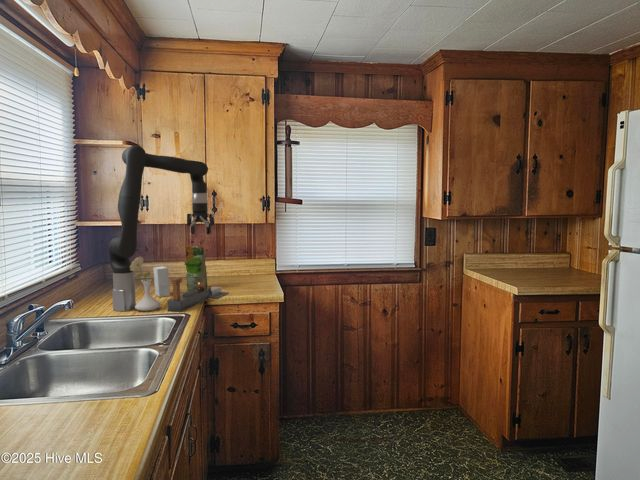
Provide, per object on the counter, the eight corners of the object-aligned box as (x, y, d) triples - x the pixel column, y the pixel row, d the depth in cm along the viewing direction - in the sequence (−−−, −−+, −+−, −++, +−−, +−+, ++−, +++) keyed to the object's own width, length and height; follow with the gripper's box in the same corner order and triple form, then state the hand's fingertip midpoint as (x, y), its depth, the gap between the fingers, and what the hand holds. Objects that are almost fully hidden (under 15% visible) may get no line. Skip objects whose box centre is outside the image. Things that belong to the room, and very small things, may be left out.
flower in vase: (152, 305, 227) (150, 253, 225) (166, 309, 220) (163, 255, 217) (126, 310, 217) (123, 256, 215) (139, 314, 210) (136, 258, 207)
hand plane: (180, 312, 214) (179, 280, 213) (167, 311, 216) (166, 279, 214) (209, 299, 239) (208, 270, 238) (197, 298, 241) (196, 270, 239)
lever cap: (212, 296, 242) (211, 288, 241) (203, 296, 243) (203, 288, 243) (221, 292, 251) (221, 284, 251) (213, 292, 253) (212, 284, 252)
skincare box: (170, 296, 247) (169, 267, 245) (158, 297, 243) (157, 268, 242) (165, 293, 254) (164, 265, 252) (154, 294, 250) (152, 266, 249)
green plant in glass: (207, 291, 258) (205, 245, 255) (184, 292, 255) (182, 245, 253) (207, 287, 269) (206, 242, 266) (185, 288, 266) (183, 243, 264)
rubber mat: (217, 298, 240) (217, 297, 240) (196, 297, 243) (196, 296, 243) (228, 293, 251) (228, 292, 251) (208, 292, 255) (208, 291, 255)
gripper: (183, 202, 239) (184, 234, 240) (208, 202, 235) (209, 235, 237) (191, 201, 246) (192, 233, 248) (216, 201, 242) (217, 233, 244)
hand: (200, 234), depth 242 cm, fingers open, 8 cm apart
